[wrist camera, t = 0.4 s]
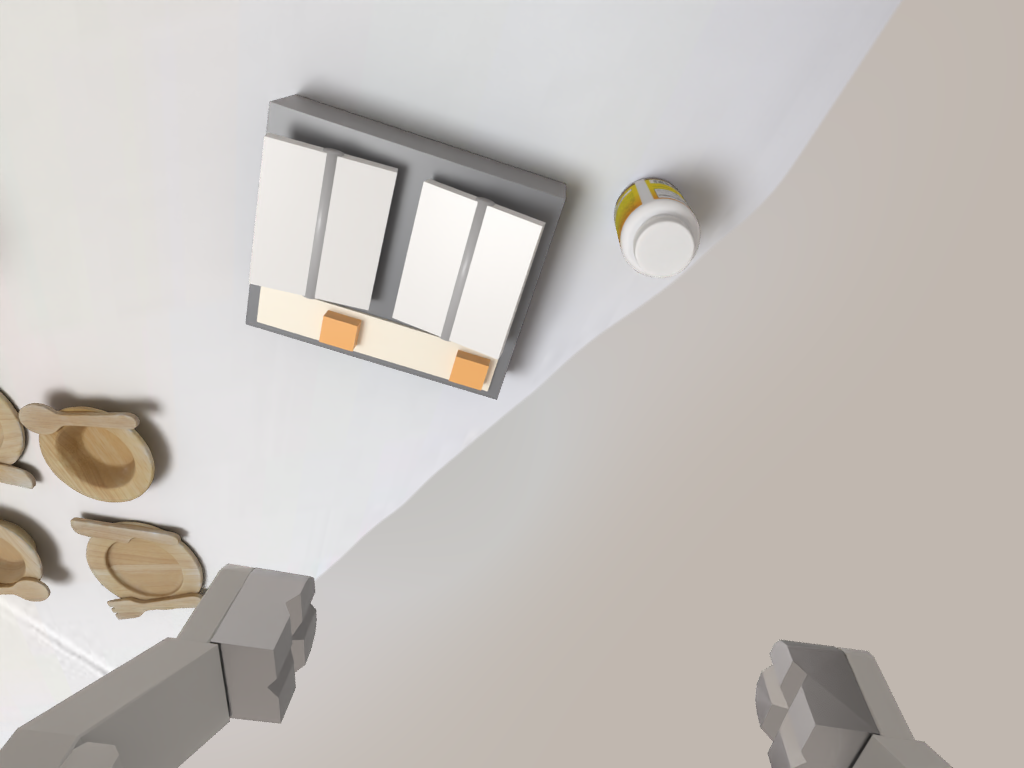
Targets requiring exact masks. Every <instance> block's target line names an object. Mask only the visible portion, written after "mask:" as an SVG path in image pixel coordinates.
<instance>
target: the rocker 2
mask: <svg viewBox="0 0 1024 768" xmlns="http://www.w3.org/2000/svg"><path fill="white" fill-rule="evenodd" d="M544 226H545V222H543V221H540V220H537V219H535V218H532V217H529V216H527V215H524V214H521V213H519V212H516V211H514V210H511V209H508V208H506V207H503V206H500V205H498V204H495V203H494V202H493V201H491V200H489V199H487V198H483V197H476V196H474V195H471V194H469V193H466V192H463V191H461V190H458V189H455V188H453V187H450V186H447V185H445V184H442V183H439V182H437V181H434V180H432V179H428V180H426V181H424V182H423V187H422V191H421V195H420V200H419V204H418V208H417V213H416V217H415V221H414V226H413V230H412V234H411V239H410V243H409V247H408V251H407V256H406V260H405V264H404V269H403V273H402V277H401V282H400V286H399V290H398V295H397V299H396V303H395V308H394V312H393V316H392V318H394V319H397V320H399V321H402V322H404V323H407V324H409V325H412V326H414V327H417V328H419V329H422V330H424V331H427V332H429V333H432V334H434V335H437V336H439V337H440V338H441V339H443V340H445V341H450V342H451V341H452V342H455V343H457V344H460V345H462V346H465V347H467V348H470V349H472V350H475V351H477V352H480V353H482V354H485V355H487V356H490V357H492V358H495V359H497V360H498V359H499V357H500V356H501V354H502V352H503V349H504V346H505V343H506V340H507V337H508V334H509V331H510V328H511V325H512V322H513V319H514V316H515V313H516V310H517V307H518V304H519V301H520V298H521V295H522V292H523V289H524V286H525V283H526V280H527V277H528V274H529V271H530V268H531V265H532V262H533V259H534V256H535V253H536V250H537V247H538V244H539V241H540V238H541V235H542V232H543V229H544Z"/></svg>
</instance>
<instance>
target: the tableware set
mask: <svg viewBox="0 0 1024 768" xmlns="http://www.w3.org/2000/svg"><path fill="white" fill-rule="evenodd" d="M139 423H140V421H139V418H138V417H137V416H136V415H135V414H133V413H129V412H106V411H103V410H100V409H96V408H92V407H84V406H77V407H68V408H64V409H61V410H59V411H57V410H55V409H53V408H52V407H49V406H47V405H44V404H40V403H32V404H28V405H26V406H24V407H23V408H21V410H20V411H19V414H18V412H17V411H16V409H15V408H14V407H13V405H12V404H11V402H10V401H9V400H8V399H7V398H6V397H5V396H4V395H3V394H2V393H1V392H0V482H2V483H6V484H11V485H16V486H20V487H25V488H29V489H32V488H33V487H34V486H35V485H36V481H35V478H34V476H33V475H32V474H31V473H29V472H28V471H26V470H23V469H21V468H18V467H15V466H12V464H14V463H15V462H16V461H17V460H18V458H19V457H20V456H21V454H22V452H23V450H24V446H25V432H24V427H23V425H24V426H25V427H26V428H27V429H29V430H30V431H32V432H35V433H38V434H39V443H40V448H41V452H42V454H43V457H44V459H45V461H46V463H47V464H48V466H49V467H50V468H51V470H52V471H53V472H54V473H55V475H56V476H57V477H58V478H59V479H60V480H62V481H63V482H64V483H65V484H67V485H68V486H69V487H71V488H72V489H74V490H76V491H77V492H79V493H81V494H83V495H85V496H87V497H90V498H93V499H96V500H100V501H106V502H125V501H130V500H133V499H135V498H137V497H139V496H141V495H142V494H143V493H144V492H145V491H146V490H147V489H148V488H149V486H150V485H151V483H152V481H153V479H154V473H155V464H154V459H153V457H152V454H151V451H150V449H149V447H148V446H147V444H146V443H145V441H144V440H143V439H142V437H141V436H140V435H139V434H138V433H137V431H136V430H135V429H134V428H136V427H137V426H138V425H139ZM71 526H72V528H73V530H74V531H75V532H77V533H78V534H81V535H85V536H88V537H91V538H90V540H89V542H88V545H87V550H86V557H87V562H88V565H89V567H90V569H91V571H92V573H93V574H94V575H95V577H96V578H97V579H98V580H99V582H100V583H101V584H102V585H103V586H105V587H106V588H107V589H108V590H109V591H111V592H112V593H114V594H115V595H117V596H118V597H120V598H121V599H115V600H110V601H108V602H107V604H108V605H109V606H110V607H113V608H112V611H113V612H114V613H116V617H117V618H118V619H129V618H136V617H139V616H141V615H142V614H143V613H144V612H145V611H147V610H156V609H161V610H167V609H175V608H196V607H197V605H198V603H199V602H200V600H201V599H202V597H203V595H201V594H199V591H200V589H201V587H202V583H203V572H202V567H201V565H200V563H199V560H198V559H197V557H196V556H195V554H194V553H193V552H192V550H191V549H190V548H189V547H188V546H187V545H186V544H185V543H183V542H182V541H181V537H180V536H179V535H178V534H176V533H174V532H169V531H165V530H162V529H160V528H158V527H155V526H152V525H149V524H144V523H139V522H117V523H109V522H103V521H96V520H90V519H84V518H73V519H72V520H71ZM36 550H37V549H36V545H35V542H34V540H33V539H32V537H31V536H30V535H29V534H28V533H27V532H26V531H25V530H24V529H22V528H21V527H19V526H18V525H16V524H14V523H11V522H9V521H6V520H2V519H0V595H1V594H14V595H17V596H19V597H21V598H23V599H26V600H29V601H43V600H45V599H47V598H48V597H49V595H50V589H49V588H48V586H47V585H46V584H45V583H43V582H41V581H40V580H41V578H42V573H43V567H42V562H41V559H40V557H39V555H38V553H37V552H36Z"/></svg>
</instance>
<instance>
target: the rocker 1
mask: <svg viewBox="0 0 1024 768" xmlns="http://www.w3.org/2000/svg"><path fill="white" fill-rule="evenodd" d="M397 172H398V168H394V167H391V166H387V165H384V164H380V163H377V162H373V161H369V160H366V159H362V158H359V157H355V156H351V155H348V154H344V153H343V152H341V151H339V150H336V149H333V148H323V147H319V146H315V145H312V144H308V143H305V142H301V141H297V140H294V139H290V138H287V137H283V136H279V135H276V134H272V133H269V132H268V133H267V134H266V135H265V136H264V143H263V152H262V162H261V171H260V180H259V190H258V199H257V208H256V218H255V227H254V237H253V246H252V255H251V265H250V274H249V284H254V285H258V286H263V287H267V288H271V289H276V290H280V291H285V292H289V293H294V294H298V295H302V296H304V297H305V298H308V299H320V300H325V301H329V302H333V303H338V304H342V305H347V306H351V307H355V308H360V309H364V310H369V305H370V301H371V296H372V291H373V286H374V281H375V277H376V272H377V267H378V262H379V258H380V253H381V248H382V243H383V239H384V234H385V229H386V224H387V219H388V215H389V210H390V205H391V200H392V196H393V191H394V186H395V181H396V177H397Z"/></svg>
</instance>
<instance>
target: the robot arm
mask: <svg viewBox="0 0 1024 768" xmlns="http://www.w3.org/2000/svg"><path fill="white" fill-rule="evenodd" d="M314 593H315V583H314V578H313V577H310V576H304V575H298V574H292V573H286V572H280V571H274V570H268V569H261V568H253V567H246V566H240V565H234V564H227V565H226V566H224V567H223V568H222V569H221V570H220V571H219V572H218V574H217V575H216V577H215V578H214V580H213V582H212V583H211V585H210V586H209V588H208V589H207V591H206V593H205V594H204V596H203V597H202V599H201V600H200V602H199V603H198V605H197V607H196V608H195V610H194V611H193V613H192V614H191V616H190V617H189V619H188V621H187V622H186V624H185V625H184V627H183V628H182V630H181V632H180V633H179V635H178V636H177V638H169V637H167V638H166V639H164V640H162V641H161V642H159V643H157V644H156V645H154V646H152V647H151V648H149V649H148V650H146V651H144V652H143V653H141V654H139V655H138V656H136V657H134V658H133V659H131V660H129V661H128V662H126V663H125V664H123V665H121V666H120V667H118V668H116V669H115V670H113V671H111V672H110V673H108V674H106V675H105V676H103V677H101V678H100V679H98V680H97V681H95V682H93V683H92V684H90V685H88V686H87V687H85V688H83V689H82V690H80V691H78V692H77V693H75V694H74V695H72V696H70V697H69V698H67V699H65V700H64V701H62V702H60V703H59V704H57V705H55V706H54V707H52V708H51V709H49V710H47V711H46V712H44V713H42V714H41V715H39V716H37V717H36V718H34V719H32V720H31V721H29V722H28V723H26V724H24V725H23V726H21V727H19V728H18V729H17V730H16V731H15V732H14V734H13V735H12V736H11V737H10V739H9V740H8V741H7V743H6V744H5V745H4V746H3V748H2V749H1V750H0V768H178V767H179V766H180V765H181V764H182V763H183V762H184V761H186V760H187V759H188V758H189V757H190V756H191V755H192V754H194V753H195V752H196V751H197V750H198V749H199V748H200V747H201V746H203V745H204V744H205V743H206V742H207V741H208V740H209V739H210V738H212V737H213V736H214V735H215V734H216V733H217V732H218V731H219V730H221V729H222V728H223V727H224V726H225V725H226V724H227V723H228V722H230V718H235V719H244V720H253V721H262V722H272V723H281V722H282V719H283V717H284V715H285V712H286V710H287V708H288V705H289V703H290V700H291V698H292V695H293V693H294V691H295V688H296V685H295V672H296V671H297V670H299V669H300V668H301V667H303V666H304V665H305V664H306V661H307V659H308V656H309V654H310V651H311V648H312V644H313V639H314V635H315V630H316V621H317V618H316V609H315V608H314V607H313V606H312V605H311V601H312V598H313V596H314ZM770 657H771V660H772V663H773V665H771V666H770V667H768V668H766V669H765V670H763V671H762V673H761V675H760V677H759V680H758V682H757V688H756V709H757V715H758V719H759V723H760V727H761V729H762V730H763V731H764V732H765V733H766V734H767V735H768V736H769V737H770V739H771V740H772V741H773V743H772V745H771V747H770V749H769V752H768V756H769V760H770V763H771V767H772V768H953V767H951V766H950V765H949V764H948V763H947V762H946V761H945V760H944V759H943V758H941V757H940V756H939V755H938V754H937V753H936V752H935V751H934V750H933V749H932V748H930V747H929V746H928V745H927V744H926V743H925V742H922V741H917V740H915V739H914V737H913V735H912V733H911V731H910V729H909V727H908V725H907V723H906V721H905V719H904V717H903V715H902V713H901V711H900V709H899V707H898V705H897V703H896V701H895V699H894V697H893V695H892V693H891V691H890V689H889V686H888V685H887V682H886V680H885V679H884V676H883V674H882V672H881V670H880V668H879V666H878V664H877V662H876V660H875V658H874V657H873V656H872V655H871V654H870V653H869V652H868V651H863V650H855V649H847V648H836V647H834V646H826V645H818V644H810V643H801V642H794V641H786V640H779V641H778V642H776V643H775V644H774V646H773V648H772V650H771V652H770Z"/></svg>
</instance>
